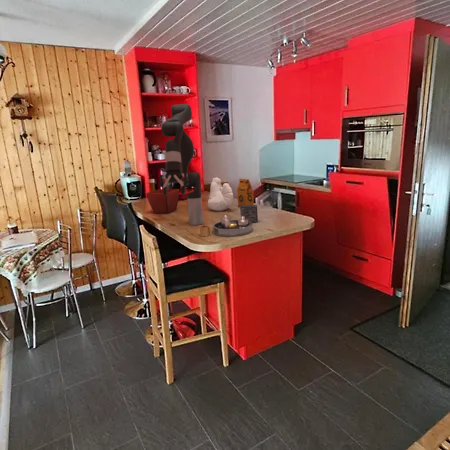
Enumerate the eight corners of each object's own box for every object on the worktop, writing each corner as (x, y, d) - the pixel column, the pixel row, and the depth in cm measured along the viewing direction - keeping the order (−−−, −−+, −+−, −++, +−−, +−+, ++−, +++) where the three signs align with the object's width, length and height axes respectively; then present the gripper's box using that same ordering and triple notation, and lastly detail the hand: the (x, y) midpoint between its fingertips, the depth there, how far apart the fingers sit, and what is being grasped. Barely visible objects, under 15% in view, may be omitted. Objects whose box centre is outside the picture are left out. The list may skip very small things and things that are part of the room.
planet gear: (198, 235, 195) (197, 226, 194) (207, 233, 198) (206, 224, 197) (203, 237, 190) (202, 228, 189) (212, 235, 193) (212, 226, 192)
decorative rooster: (205, 209, 266) (202, 178, 260) (223, 206, 272) (221, 175, 266) (219, 215, 244) (216, 180, 238) (238, 211, 250) (236, 178, 244)
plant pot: (147, 214, 262) (145, 192, 258) (162, 209, 279) (159, 188, 275) (168, 215, 255) (166, 192, 250) (181, 209, 271) (179, 188, 267)
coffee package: (245, 209, 258) (244, 180, 253) (236, 206, 269) (234, 179, 263) (256, 207, 263) (254, 178, 258) (246, 205, 274) (245, 177, 268)
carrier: (205, 231, 203) (204, 217, 201) (237, 224, 214) (236, 211, 212) (226, 239, 184) (225, 224, 182) (260, 231, 195) (259, 217, 193)
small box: (258, 220, 221) (257, 204, 218) (257, 222, 215) (256, 206, 212) (241, 220, 223) (241, 205, 220) (240, 223, 216) (239, 207, 214)
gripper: (189, 162, 168) (190, 195, 167) (162, 165, 171) (163, 197, 170) (184, 159, 161) (185, 193, 160) (156, 161, 164) (157, 195, 163)
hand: (174, 195), depth 165 cm, fingers open, 8 cm apart
